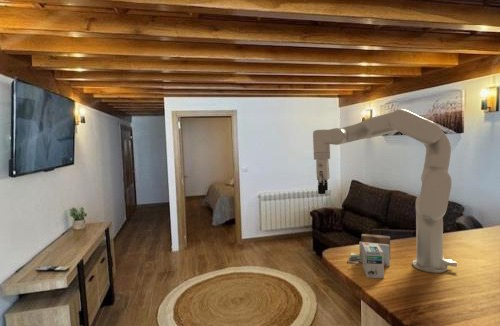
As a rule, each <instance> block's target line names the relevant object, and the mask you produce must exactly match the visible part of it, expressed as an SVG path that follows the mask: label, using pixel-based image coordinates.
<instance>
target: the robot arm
mask: <svg viewBox="0 0 500 326" xmlns="http://www.w3.org/2000/svg"><path fill="white" fill-rule="evenodd" d="M397 132H399V133H401V134H403V135H406V136H408V137H409V138H411V139H413V140H416V141H417V142H419V143H422V144H424V147H425V158H424V164H423V169H422V173H421V176H420V177H421V178H420V180H421V188H420V194H418V195H417V197H416V200H415V217H416V218H415V222H416V223H415V225H416V226H415V228H416V229H415V231H416V232H415V233H416V234H415V237H416V238H415V240H416V241H415V245H416V248H415V249H416V251H415V252H416V253H415V254H416V258H415V259H413V260H412V263H411V264H412V266H413V267H414V268H416V269H418V270H419V271H422V272H427V273H433V274H434V273H435V274H441V273H445V272H447V271H448V266H450V267H455V268H456V267H458V264H457V261H453V260H452V259H446V258H445V257H444V237H443V236H444V233H443V232H444V221H443V219H444V218H443V217H444V216H445V214H446V212H447V209H448V205H449V200H450V195H451V189H452V178H451V175H450V174H449V167H450V162H451V161H450V159H451V153H452V147H451V142H450V140H449V138H448V136H447V135H446V133H445V132H444V131H443V130H442V129H441V127H440V126H439V125H438V123H435V122H433V121H432V120H429V119H427V118H424V117H422V116H419V115H418V114H416V113H413V112H411V111H410V110H407V109H404V108H399V109H396V110H393V111H392V112H388V113H384V114H380V115H376V116H373V117H370V118H366V119H364V120H362V121H360V122H358V123H355V124H352V125H347V126H344V127H335V128H331V129H315V130H313V132H312V143H313V148H312V149H313V160H316V161H315V162H316V163H315V167H316V168H315V169H316V171H315V173H316V180H317V181H318V182H317V194H318V195H325V194H326V191H328V190H329V188H328V186H329V183H328V180H330V177H331V176H330V163H329V162H330V161H329V160H331V145H335V146H337V145H343V144H347V143H351V142H355V141H360V140H365V139H372V138H375V137H376V138H377V137H381V136H384V135H388V134H392V133H397Z"/></svg>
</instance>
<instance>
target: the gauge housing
mask: <svg viewBox="0 0 500 326" xmlns="http://www.w3.org/2000/svg"><path fill="white" fill-rule="evenodd" d="M360 238H361V240H360V242H368V243H378V244H388V245H389V250H390V251H391V236H389V235H380V234H369V233H362V234H361V237H360ZM351 256H353V257H357V258H360V253H355V252H350V255H349V257H351ZM347 263H348V264H357V265H359V263H360V261H358V260H350V259H349V258H348V260H347Z"/></svg>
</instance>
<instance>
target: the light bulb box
mask: <svg viewBox="0 0 500 326" xmlns="http://www.w3.org/2000/svg"><path fill="white" fill-rule="evenodd" d="M362 253H363V263H362V268H363V272H364V273H365V276H366V278H369V279H370V278H371V279H373V278H374V279H385V266H384V252H383V251H382V249H381V248H380V246H379V244H378V243H362Z"/></svg>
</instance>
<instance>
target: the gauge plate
mask: <svg viewBox="0 0 500 326" xmlns="http://www.w3.org/2000/svg"><path fill="white" fill-rule="evenodd" d="M358 243H359V244H358V245H359V254H360V258H352V257H350V256H349V257H348V259H350V260H358V261H359V263H362V264H363V253H362V243H368V242H361V241H359V242H358ZM379 246H380V248H381V249H382V251H383V252H384V267H385V266H386V267H390V264H391V263H390V261H391V249H390V250H389V245H388V244H379Z"/></svg>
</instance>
